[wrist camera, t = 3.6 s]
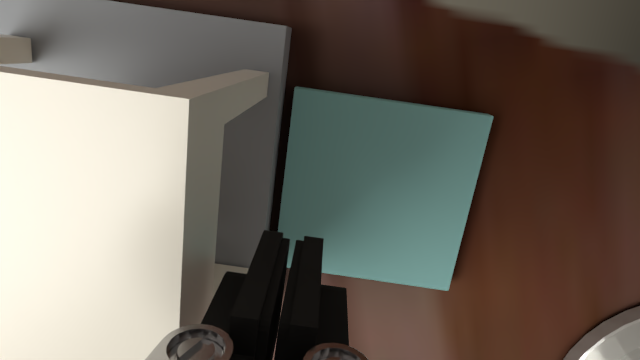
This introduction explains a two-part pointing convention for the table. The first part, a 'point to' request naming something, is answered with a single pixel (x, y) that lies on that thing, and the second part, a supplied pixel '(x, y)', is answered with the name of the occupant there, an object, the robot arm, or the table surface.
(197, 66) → the puzzle board
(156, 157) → the sliding cover
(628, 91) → the table surface
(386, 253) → the teal mat
